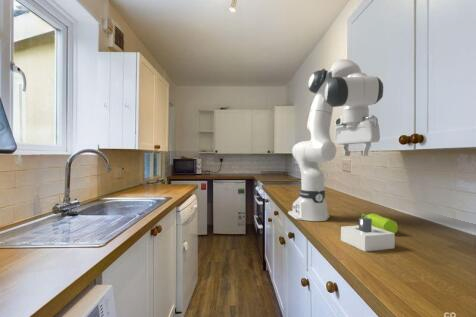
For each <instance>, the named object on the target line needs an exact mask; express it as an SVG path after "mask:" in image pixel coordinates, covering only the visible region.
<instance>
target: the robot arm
mask: <svg viewBox="0 0 476 317" xmlns="http://www.w3.org/2000/svg"><path fill="white" fill-rule="evenodd" d="M307 84H308V87H307V88H308V90H309V92H311V93H313V94H316V95H315V96H314V98H313V100H312V102H311V106H310V109H309V112H308V113H309V114H308V118H307V123H306V128H307V130H308V131H309V133H310V140H303V141H299V142H296V143H295V144H294V145H293V147H292V149H291V151H292V152H291V153H292V156H293V158H294V160H296V162H297V164H298V167H299V170H300V177H301V179H300V180H301V181H300V182H301V184H300V186H301V187H300V188H301V189H300V190H298V192H299V195H298V196H299V197H297V199H296V200H294V201H293V203H292V204H291V209H292V210H289V211H288V212H287V214H288V215H289V216H291V218H294V219H295V220H298V221H308V222H325V221H328V219H329V218H330V215H329V213H328V205H327V204H328V203H327V200H326V199H325V198H326V190H325V174H324V173H323V171H322V170H321V169H320V167H319V164H318V163H325V162H330V161H332V160H333V159H335V157H336V155H337V147H336V145H338V146H339V145H340V146H341V148H342V151H343V156H345V157H350V156H351V150H350V151H349V145H357V144H362V146H363V149H362V150H360V152H361V154H360V156H362V157H364V156H365V157H367V156H369V150H370V148H371V146H372V143H379V141H380V139H381V132H380V126H379V119H378V118H377V116H375V115H370V110H369V109H370V108H369V106H372V105H376V104H377V103H379V102H380V101H381V100H382V98H383V96H384V84H383V81H382V80H381V79H380V78H379V77H378V76H373V75H372V76H369V75H367V74H366V73H364V72H362V70H361V68H360V66H359V65H358V64H357V63H356V62H355V61H352V60H350V59H344V58H343V59H342V58H341V59H338V60H336V61H335V62H333V63H332V65H331V66H330V69H329V70H327V69H325V68H322V69H320V70H319V69H318V70H317V71H314V72H312V74H311V76H309V79H308V83H307ZM336 107H337V108H338V107H343V109H342V114H341V115H340V116H339V117H338V118H336V119H335V120H334V126H335V127H334V142H335V143H334V142H333V141H332V138H331V135H330V134H331V133H330V129H331V122H332V117H333V110H334V108H336Z"/></svg>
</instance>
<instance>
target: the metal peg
mask: <svg viewBox="0 0 476 317" xmlns="http://www.w3.org/2000/svg"><path fill="white" fill-rule="evenodd" d="M358 225H359V230H360V231H363V232H365V233H368V232H372V219H370V218H362V217H359V218H358Z"/></svg>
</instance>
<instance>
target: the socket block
mask: <svg viewBox="0 0 476 317" xmlns="http://www.w3.org/2000/svg"><path fill="white" fill-rule="evenodd" d="M395 235H396V233H392V232H389V231H386V230H383V229H380V228H377V227H374V226H372V232H368V233H365V232H363V231H360V230H359V224H358V225H347V226H345V225H344V226H341V227H340V241H341V242H344V243H346V244H347V245H350V246H353V247H354V248H357V249H358V250H360V251H363V252H372V251H383V250H391V249H395V245H396V244H395V242H396V240H395V239H396V238H395Z"/></svg>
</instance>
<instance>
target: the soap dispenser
mask: <svg viewBox="0 0 476 317" xmlns="http://www.w3.org/2000/svg"><path fill="white" fill-rule="evenodd" d="M360 218H370V219H372V226H374V227H377V228H380V229H383V230H386V231H389V232H392V233H395V234H396V233H397V232H398V230H399V226H398V223H397V222H396V221H395V220H392V219H390V218H388V217H384V216H382V215H380V214H377V213H373V212H372V213H369V214H368V213H367V214H365V213H362V214H361V217H360Z"/></svg>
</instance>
